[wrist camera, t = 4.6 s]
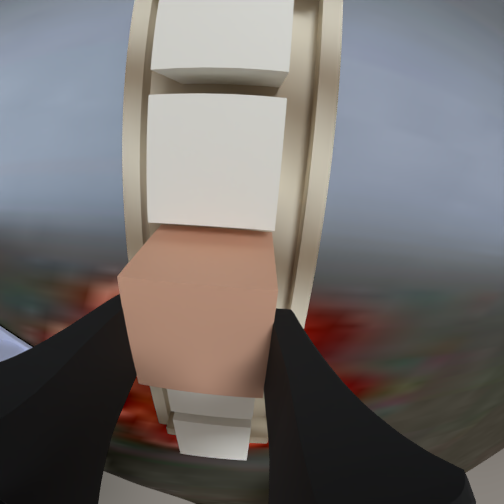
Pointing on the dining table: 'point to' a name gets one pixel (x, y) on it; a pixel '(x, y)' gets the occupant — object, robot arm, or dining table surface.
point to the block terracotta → (201, 309)
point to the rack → (293, 155)
